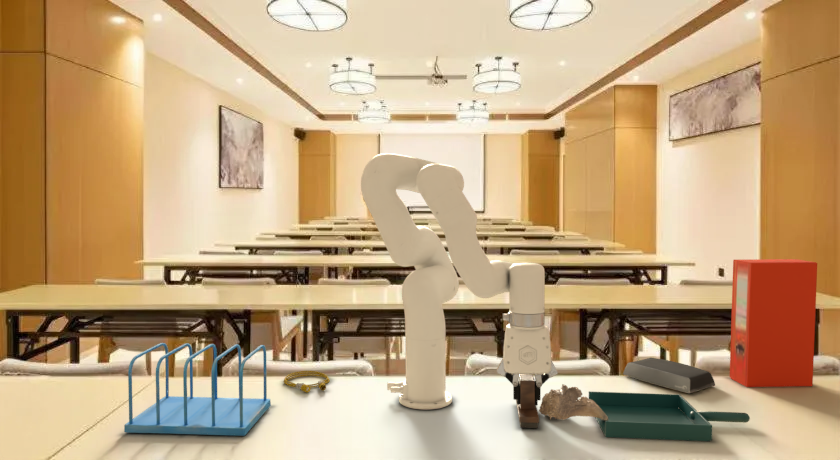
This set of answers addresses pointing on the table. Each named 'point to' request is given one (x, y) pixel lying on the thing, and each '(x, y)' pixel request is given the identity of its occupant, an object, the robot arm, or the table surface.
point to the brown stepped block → (527, 402)
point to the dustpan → (657, 416)
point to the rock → (569, 404)
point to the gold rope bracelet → (303, 386)
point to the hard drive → (670, 374)
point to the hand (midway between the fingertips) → (526, 402)
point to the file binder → (773, 322)
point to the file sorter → (198, 403)
